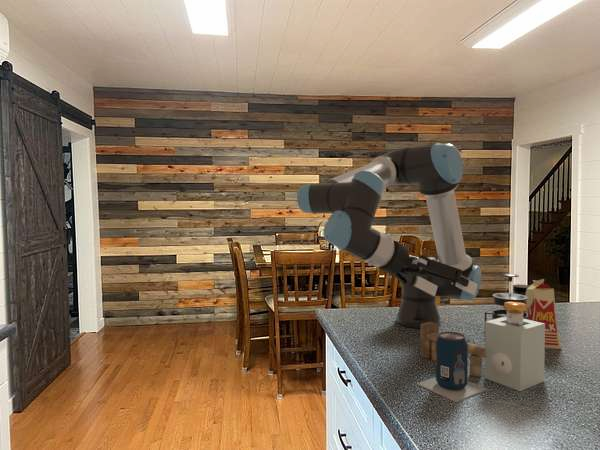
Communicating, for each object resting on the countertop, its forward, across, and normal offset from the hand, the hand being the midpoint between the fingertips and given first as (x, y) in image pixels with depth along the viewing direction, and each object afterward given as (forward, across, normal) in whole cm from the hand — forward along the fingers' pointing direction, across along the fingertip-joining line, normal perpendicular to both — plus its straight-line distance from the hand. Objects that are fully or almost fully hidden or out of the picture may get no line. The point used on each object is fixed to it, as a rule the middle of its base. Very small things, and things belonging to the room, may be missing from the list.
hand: (454, 290), depth 106 cm
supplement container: (+66, -40, +20) cm, 80 cm away
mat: (+6, 0, -22) cm, 23 cm away
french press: (+31, -9, -6) cm, 33 cm away
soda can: (+6, 0, -22) cm, 22 cm away
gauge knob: (+16, +6, -5) cm, 17 cm away
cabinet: (+20, +3, -15) cm, 25 cm away
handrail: (+14, -10, -15) cm, 23 cm away
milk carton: (+46, -13, +3) cm, 48 cm away
